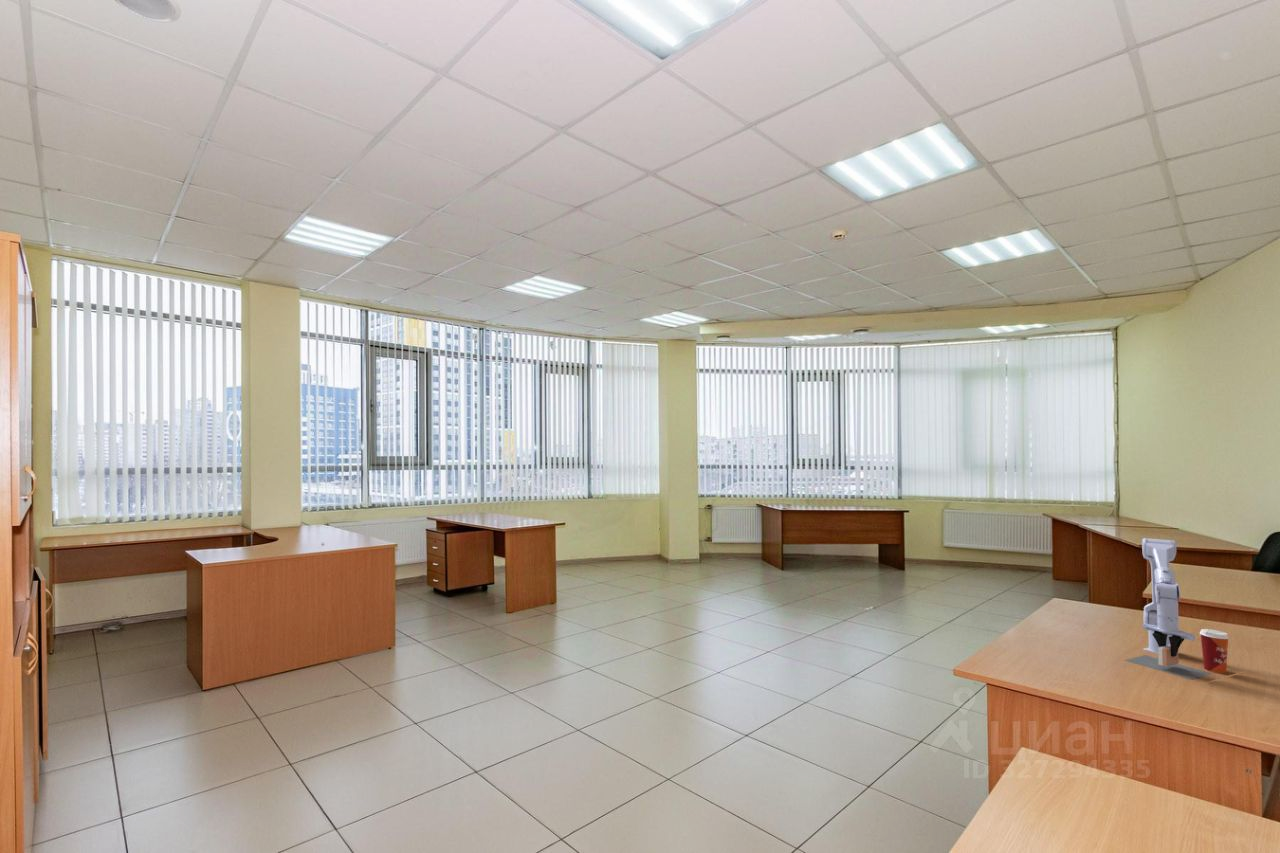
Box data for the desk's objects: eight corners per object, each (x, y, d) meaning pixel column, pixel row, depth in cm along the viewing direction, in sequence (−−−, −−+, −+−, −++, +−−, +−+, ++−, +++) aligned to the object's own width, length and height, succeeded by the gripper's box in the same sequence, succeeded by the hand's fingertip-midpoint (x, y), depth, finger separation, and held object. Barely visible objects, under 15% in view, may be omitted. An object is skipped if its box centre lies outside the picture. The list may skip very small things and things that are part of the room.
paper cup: (1224, 676, 206) (1223, 636, 207) (1196, 669, 213) (1195, 630, 213) (1234, 673, 210) (1233, 633, 210) (1205, 665, 217) (1204, 627, 217)
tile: (1170, 661, 216) (1170, 644, 216) (1178, 663, 213) (1178, 646, 214) (1158, 664, 212) (1158, 647, 213) (1166, 666, 210) (1166, 649, 210)
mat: (1145, 656, 226) (1145, 655, 226) (1212, 674, 208) (1212, 673, 208) (1124, 661, 221) (1124, 660, 221) (1191, 680, 202) (1191, 679, 202)
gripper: (1137, 612, 219) (1138, 649, 218) (1187, 623, 205) (1187, 663, 205) (1148, 610, 221) (1149, 647, 221) (1197, 621, 208) (1198, 660, 208)
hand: (1168, 654), depth 213 cm, fingers closed on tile, 2 cm apart
